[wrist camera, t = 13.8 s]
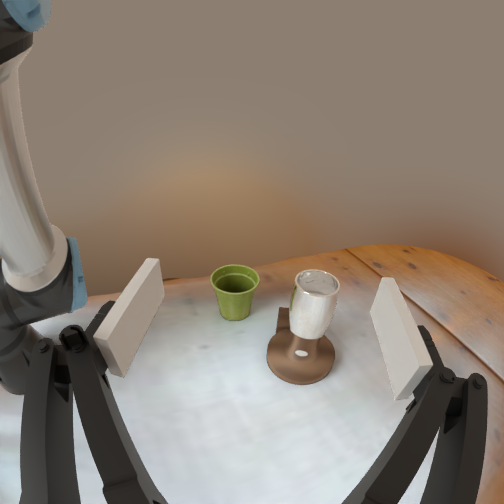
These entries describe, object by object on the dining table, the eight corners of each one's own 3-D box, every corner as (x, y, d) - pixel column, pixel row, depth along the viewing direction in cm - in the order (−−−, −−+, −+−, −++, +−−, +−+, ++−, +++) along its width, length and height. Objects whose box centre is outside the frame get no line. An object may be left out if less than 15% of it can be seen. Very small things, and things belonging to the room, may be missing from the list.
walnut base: (335, 385, 42) (345, 364, 39) (264, 382, 43) (267, 361, 40) (328, 333, 53) (335, 310, 50) (268, 329, 54) (271, 306, 51)
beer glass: (279, 363, 44) (291, 293, 36) (284, 334, 50) (295, 265, 42) (320, 368, 43) (343, 300, 35) (321, 339, 49) (339, 271, 41)
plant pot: (266, 310, 59) (269, 276, 54) (237, 334, 52) (237, 300, 48) (233, 292, 63) (233, 259, 59) (203, 312, 57) (200, 278, 53)
